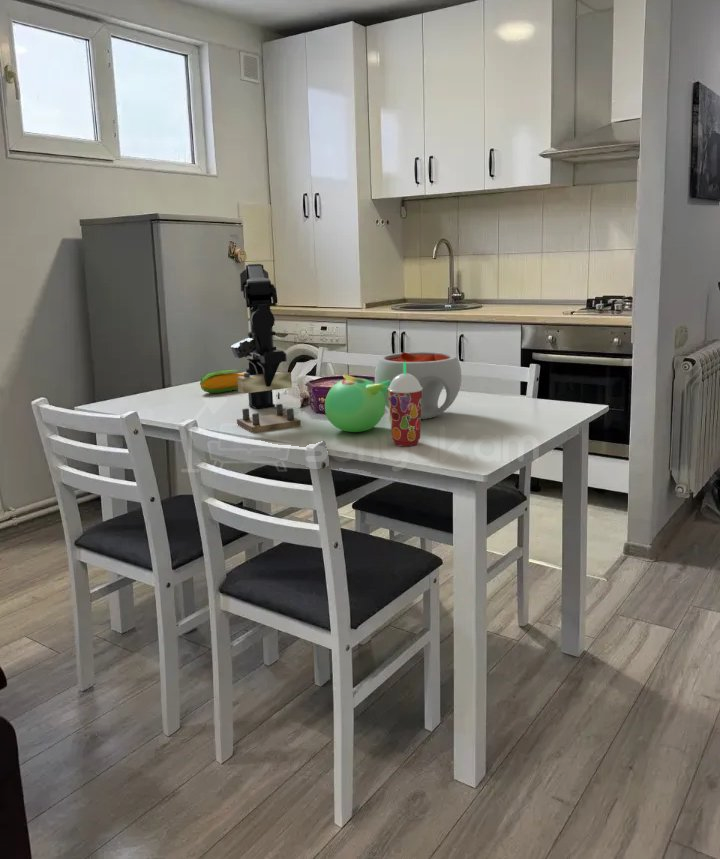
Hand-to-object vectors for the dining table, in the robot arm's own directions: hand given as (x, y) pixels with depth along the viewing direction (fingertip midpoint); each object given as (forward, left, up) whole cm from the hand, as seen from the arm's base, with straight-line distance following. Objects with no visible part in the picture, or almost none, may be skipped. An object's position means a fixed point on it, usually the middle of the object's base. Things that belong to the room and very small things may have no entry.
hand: (265, 385), depth 208 cm
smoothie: (-20, +40, -11) cm, 46 cm away
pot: (-39, +16, -11) cm, 44 cm away
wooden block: (0, 0, -1) cm, 1 cm away
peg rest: (0, 0, -11) cm, 11 cm away
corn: (-8, -58, -11) cm, 60 cm away
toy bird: (-17, +21, -11) cm, 29 cm away
